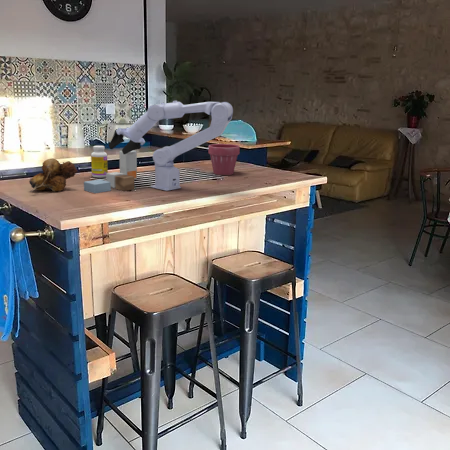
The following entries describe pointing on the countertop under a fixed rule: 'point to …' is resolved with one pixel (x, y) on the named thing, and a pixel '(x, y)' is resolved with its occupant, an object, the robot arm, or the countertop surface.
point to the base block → (97, 186)
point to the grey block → (112, 178)
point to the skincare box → (128, 163)
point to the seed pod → (53, 175)
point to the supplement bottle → (99, 162)
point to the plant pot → (223, 158)
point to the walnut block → (124, 182)
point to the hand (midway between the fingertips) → (116, 149)
